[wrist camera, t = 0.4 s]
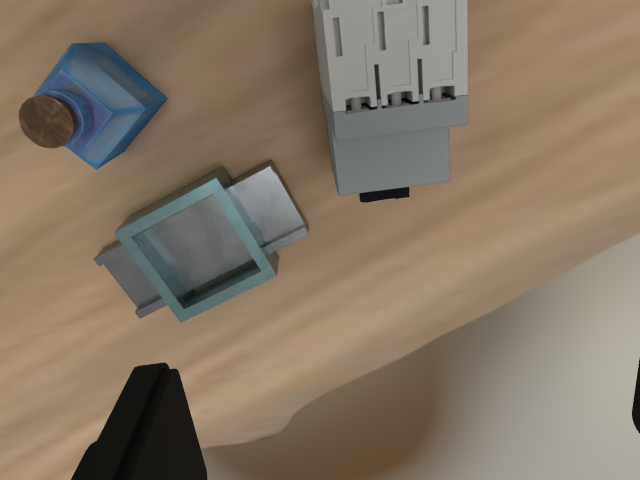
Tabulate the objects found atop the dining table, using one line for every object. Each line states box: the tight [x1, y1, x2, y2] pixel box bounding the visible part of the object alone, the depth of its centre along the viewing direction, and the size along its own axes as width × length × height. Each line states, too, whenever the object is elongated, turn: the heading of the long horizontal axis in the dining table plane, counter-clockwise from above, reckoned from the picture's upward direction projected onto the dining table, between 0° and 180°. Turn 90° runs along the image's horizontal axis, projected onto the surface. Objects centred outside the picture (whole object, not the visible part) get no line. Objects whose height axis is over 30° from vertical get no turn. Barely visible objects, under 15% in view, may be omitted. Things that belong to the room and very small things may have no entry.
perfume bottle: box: [19, 43, 168, 170], centre depth 35 cm, size 6×6×12 cm
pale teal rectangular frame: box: [94, 160, 309, 322], centre depth 44 cm, size 10×18×4 cm, turn 117°
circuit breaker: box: [311, 0, 468, 202], centre depth 34 cm, size 8×14×15 cm, turn 7°
